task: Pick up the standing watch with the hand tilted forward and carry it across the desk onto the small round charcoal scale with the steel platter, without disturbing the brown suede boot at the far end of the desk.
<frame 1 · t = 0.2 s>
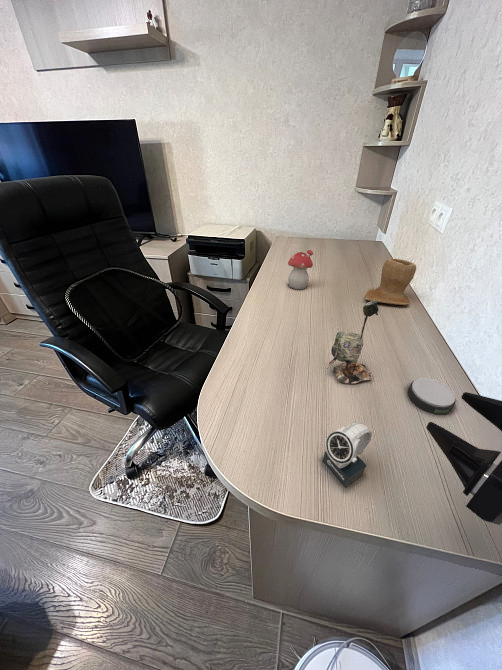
hand: (446, 408, 38), 18 cm above the table, tool horizontal, fingers open, 9 cm apart
brown suede boot: (384, 300, 103), on the table
plant with pod: (346, 374, 70), on the table
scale: (429, 398, 63), on the table
watch: (341, 468, 50), on the table
decorative ornament: (297, 287, 112), on the table
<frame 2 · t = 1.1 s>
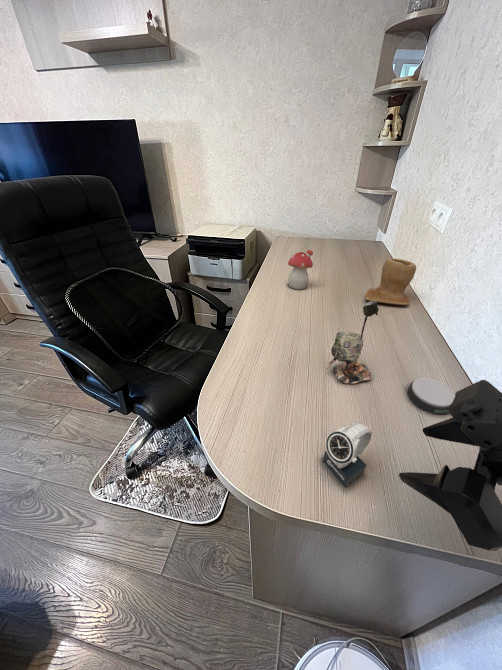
hand: (413, 452, 38), 13 cm above the table, tool tilted 45°, fingers open, 9 cm apart
nothing on the table moved.
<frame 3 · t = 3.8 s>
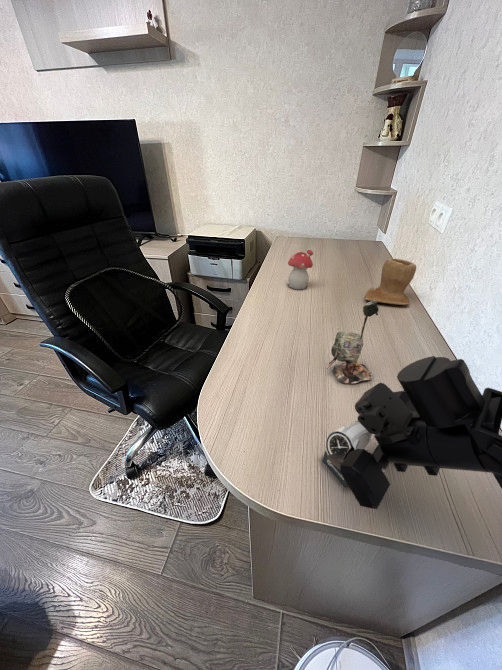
hand: (341, 441, 47), 7 cm above the table, tool tilted 45°, fingers closed on watch, 8 cm apart
watch: (341, 468, 50), on the table, touching gripper
everything else where it was.
when the fingers open (9 cm above the table, at t = 13.2 s): watch stays where it is, resting on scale.
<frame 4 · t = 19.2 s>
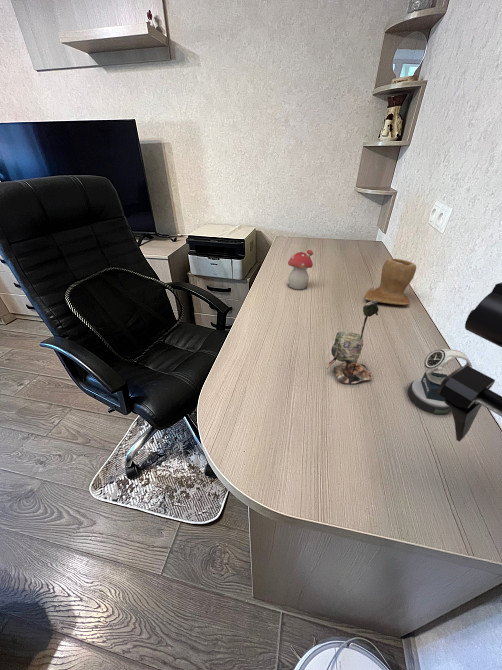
hand: (496, 465, 37), 13 cm above the table, tool pointing down, fingers open, 9 cm apart
watch: (433, 392, 62), point 2 cm above the table, touching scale
everything else where it was.
at the end: watch inside the target area on the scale (0.1 cm from its centre), point 2.4 cm above the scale's base; watch tilted 0°; brown suede boot moved 0.2 cm from its start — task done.
